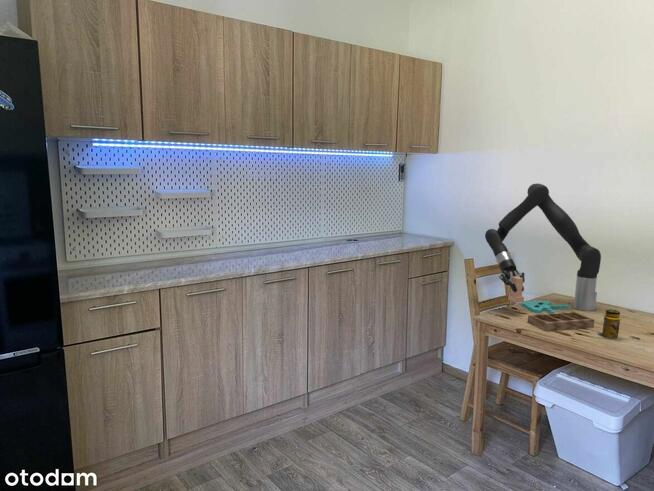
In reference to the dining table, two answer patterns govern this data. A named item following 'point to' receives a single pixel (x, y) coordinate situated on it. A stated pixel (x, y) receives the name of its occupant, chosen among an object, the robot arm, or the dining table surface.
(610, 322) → the condiment
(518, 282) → the tan piece
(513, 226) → the robot arm
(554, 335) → the dining table surface
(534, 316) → the rack
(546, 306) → the alien figure
